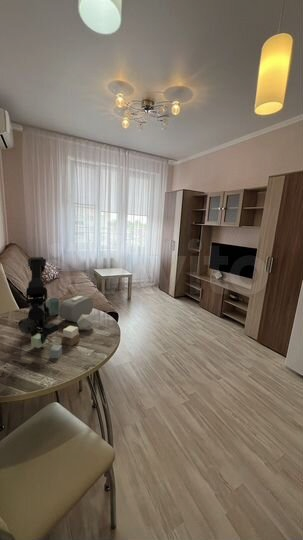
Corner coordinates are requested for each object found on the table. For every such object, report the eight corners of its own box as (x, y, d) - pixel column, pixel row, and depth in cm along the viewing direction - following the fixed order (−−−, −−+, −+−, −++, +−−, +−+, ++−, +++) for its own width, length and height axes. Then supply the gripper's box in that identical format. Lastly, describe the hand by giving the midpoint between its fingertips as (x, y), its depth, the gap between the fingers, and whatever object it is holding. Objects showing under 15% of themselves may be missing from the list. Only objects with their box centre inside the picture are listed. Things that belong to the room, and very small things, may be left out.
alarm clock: (81, 310, 151) (81, 292, 148) (93, 313, 148) (93, 294, 145) (58, 322, 132) (58, 301, 129) (71, 325, 129) (71, 303, 126)
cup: (43, 315, 140) (43, 300, 138) (53, 311, 147) (52, 297, 145) (53, 318, 137) (52, 302, 135) (62, 313, 144) (62, 299, 142)
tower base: (61, 343, 110) (61, 336, 109) (69, 338, 115) (69, 331, 114) (71, 346, 108) (71, 339, 107) (79, 340, 113) (79, 333, 112)
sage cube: (31, 345, 104) (30, 337, 103) (39, 341, 108) (38, 332, 107) (38, 348, 102) (38, 339, 101) (46, 343, 106) (46, 334, 106)
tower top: (63, 336, 109) (63, 329, 108) (70, 331, 114) (69, 325, 113) (71, 338, 108) (71, 331, 107) (78, 333, 112) (78, 327, 111)
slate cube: (49, 358, 98) (49, 350, 97) (53, 353, 102) (53, 345, 101) (58, 358, 98) (58, 350, 97) (62, 353, 102) (62, 345, 101)
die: (84, 335, 120) (95, 319, 121) (71, 325, 120) (82, 310, 122) (88, 333, 128) (99, 318, 130) (76, 324, 129) (86, 310, 130)
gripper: (6, 313, 97) (8, 346, 101) (38, 322, 91) (40, 356, 94) (27, 305, 108) (29, 335, 111) (58, 312, 102) (59, 343, 105)
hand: (38, 342), depth 105 cm, fingers closed on sage cube, 4 cm apart
